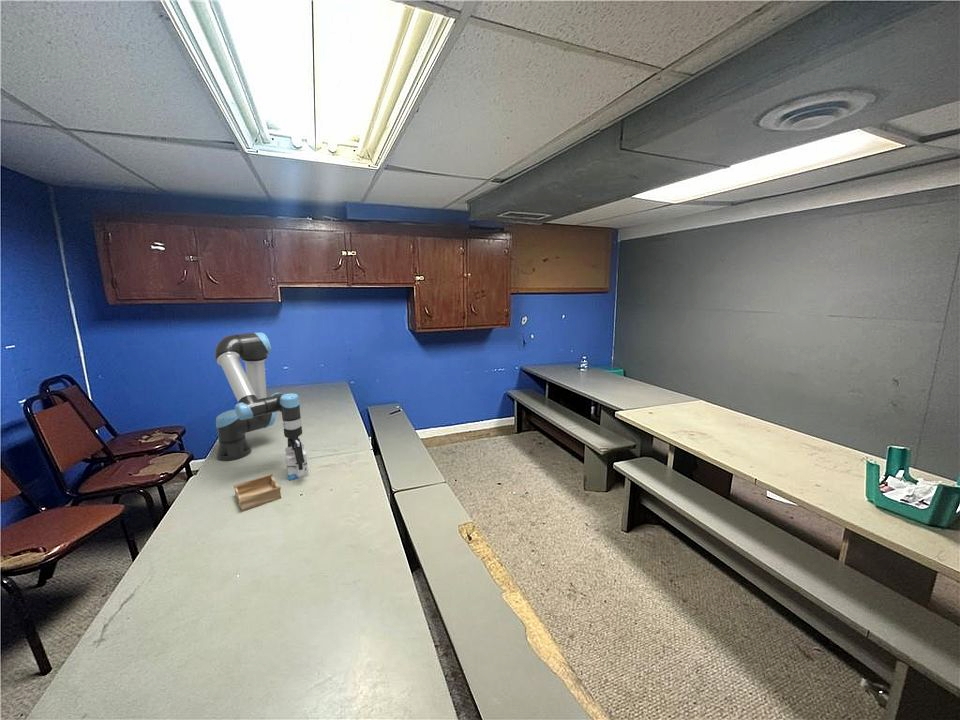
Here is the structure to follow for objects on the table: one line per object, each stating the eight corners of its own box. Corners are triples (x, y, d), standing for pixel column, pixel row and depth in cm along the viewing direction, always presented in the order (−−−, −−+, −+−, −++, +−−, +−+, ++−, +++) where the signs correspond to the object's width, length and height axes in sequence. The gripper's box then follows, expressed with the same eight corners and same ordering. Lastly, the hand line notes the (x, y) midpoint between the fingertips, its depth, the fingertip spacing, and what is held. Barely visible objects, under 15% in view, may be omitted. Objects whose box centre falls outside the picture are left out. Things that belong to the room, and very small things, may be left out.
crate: (235, 496, 158) (233, 485, 157) (273, 483, 168) (271, 473, 167) (241, 512, 147) (239, 501, 146) (281, 498, 157) (280, 487, 156)
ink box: (288, 481, 170) (285, 452, 167) (287, 476, 174) (284, 447, 171) (308, 475, 175) (305, 447, 171) (307, 471, 179) (304, 443, 175)
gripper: (277, 421, 175) (282, 464, 180) (290, 437, 158) (296, 483, 163) (294, 418, 179) (298, 459, 184) (309, 432, 163) (313, 477, 168)
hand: (297, 470), depth 174 cm, fingers open, 10 cm apart
